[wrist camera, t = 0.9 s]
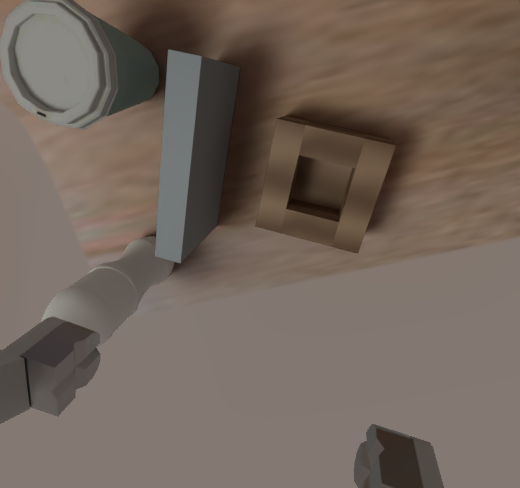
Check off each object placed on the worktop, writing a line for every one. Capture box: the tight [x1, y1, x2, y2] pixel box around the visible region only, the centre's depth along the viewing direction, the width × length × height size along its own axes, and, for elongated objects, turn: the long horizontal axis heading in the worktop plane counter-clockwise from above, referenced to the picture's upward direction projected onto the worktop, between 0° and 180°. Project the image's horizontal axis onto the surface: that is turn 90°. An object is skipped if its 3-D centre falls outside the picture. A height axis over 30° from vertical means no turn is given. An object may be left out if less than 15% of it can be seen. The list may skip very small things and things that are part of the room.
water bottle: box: [41, 236, 175, 347], centre depth 40 cm, size 7×7×25 cm
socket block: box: [255, 116, 396, 253], centre depth 39 cm, size 12×12×6 cm
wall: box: [155, 49, 240, 263], centre depth 38 cm, size 20×3×12 cm, turn 169°
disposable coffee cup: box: [0, 0, 159, 129], centre depth 35 cm, size 11×11×15 cm
